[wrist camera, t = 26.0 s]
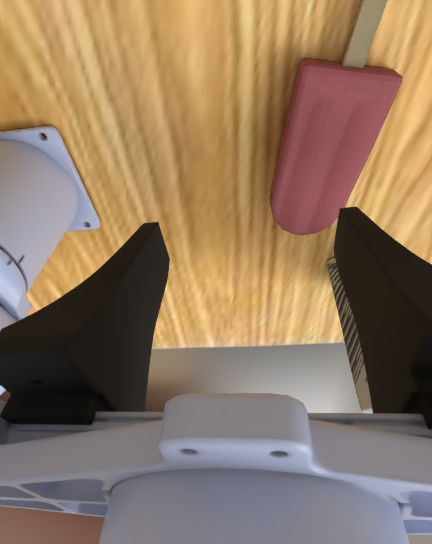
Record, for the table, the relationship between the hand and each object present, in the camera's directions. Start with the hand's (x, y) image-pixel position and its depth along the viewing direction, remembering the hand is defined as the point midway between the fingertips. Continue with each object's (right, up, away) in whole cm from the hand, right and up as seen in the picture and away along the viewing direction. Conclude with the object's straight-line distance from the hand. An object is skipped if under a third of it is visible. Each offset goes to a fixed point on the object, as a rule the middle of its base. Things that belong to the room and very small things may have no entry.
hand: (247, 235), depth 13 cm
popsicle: (+6, +8, +7) cm, 12 cm away
